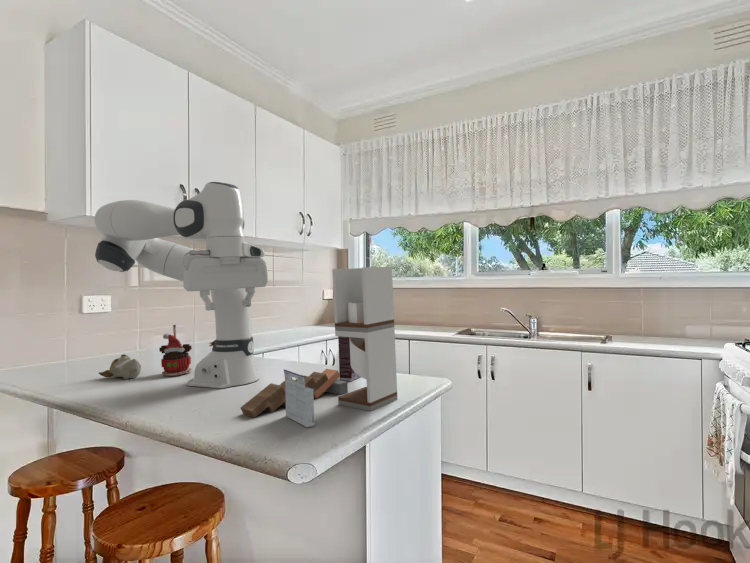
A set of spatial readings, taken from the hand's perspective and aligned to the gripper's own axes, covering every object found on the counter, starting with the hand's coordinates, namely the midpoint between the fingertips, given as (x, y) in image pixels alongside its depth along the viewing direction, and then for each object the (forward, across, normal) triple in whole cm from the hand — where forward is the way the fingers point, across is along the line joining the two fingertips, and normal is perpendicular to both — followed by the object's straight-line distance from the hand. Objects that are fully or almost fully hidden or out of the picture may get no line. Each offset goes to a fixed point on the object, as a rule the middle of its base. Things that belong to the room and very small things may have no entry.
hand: (229, 308), depth 105 cm
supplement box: (+27, +45, +5) cm, 53 cm away
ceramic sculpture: (+27, 0, +77) cm, 82 cm away
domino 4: (+26, +18, -1) cm, 31 cm away
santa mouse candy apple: (+27, +14, +65) cm, 72 cm away
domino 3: (+26, +13, -1) cm, 29 cm away
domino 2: (+26, +8, -1) cm, 27 cm away
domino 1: (+26, +3, -1) cm, 26 cm away
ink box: (+27, +9, -14) cm, 32 cm away
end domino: (+26, +22, -1) cm, 34 cm away
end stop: (+27, +30, -1) cm, 40 cm away
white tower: (+27, +28, -17) cm, 43 cm away
